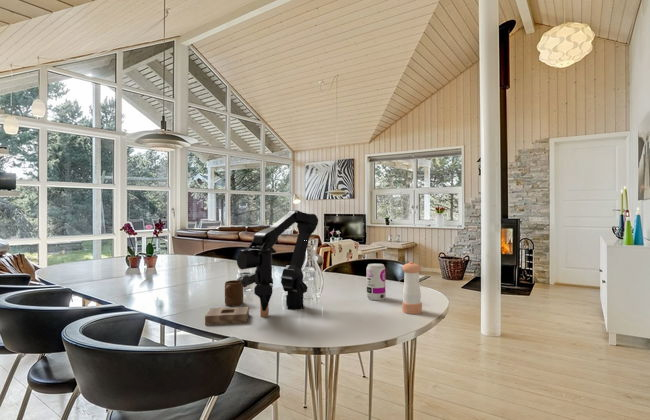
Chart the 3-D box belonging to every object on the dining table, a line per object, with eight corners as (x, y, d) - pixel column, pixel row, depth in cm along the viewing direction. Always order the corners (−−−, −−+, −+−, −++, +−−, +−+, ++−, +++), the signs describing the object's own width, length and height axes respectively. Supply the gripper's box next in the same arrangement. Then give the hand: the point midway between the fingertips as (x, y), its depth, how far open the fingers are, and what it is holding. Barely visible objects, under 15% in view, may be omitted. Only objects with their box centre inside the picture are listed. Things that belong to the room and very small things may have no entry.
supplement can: (388, 297, 159) (388, 264, 159) (380, 301, 152) (380, 266, 152) (371, 295, 163) (371, 262, 163) (363, 299, 156) (363, 265, 156)
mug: (235, 309, 142) (235, 285, 142) (217, 309, 143) (217, 285, 143) (245, 301, 154) (245, 280, 154) (229, 301, 155) (228, 279, 155)
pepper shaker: (425, 311, 137) (424, 261, 137) (414, 315, 132) (414, 263, 132) (409, 307, 142) (408, 259, 142) (398, 311, 137) (397, 261, 137)
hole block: (248, 314, 135) (248, 306, 135) (246, 322, 125) (246, 314, 125) (210, 316, 133) (210, 308, 133) (205, 324, 123) (205, 316, 123)
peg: (268, 314, 134) (268, 288, 134) (268, 317, 131) (268, 290, 131) (260, 315, 134) (260, 288, 134) (260, 317, 131) (260, 290, 131)
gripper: (244, 263, 141) (244, 302, 141) (239, 270, 122) (239, 316, 122) (272, 262, 142) (273, 301, 142) (272, 269, 124) (272, 314, 124)
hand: (264, 308), depth 133 cm, fingers open, 7 cm apart
